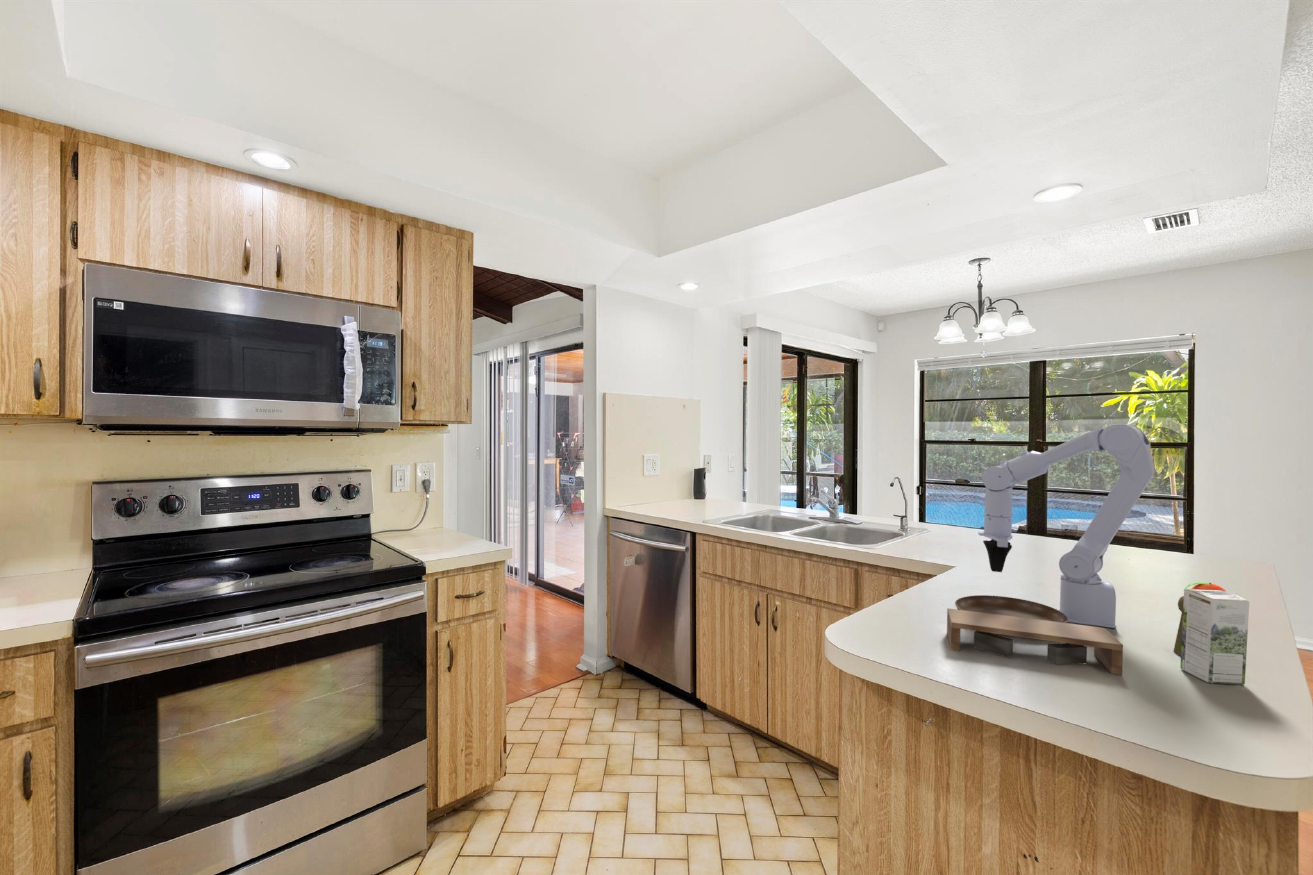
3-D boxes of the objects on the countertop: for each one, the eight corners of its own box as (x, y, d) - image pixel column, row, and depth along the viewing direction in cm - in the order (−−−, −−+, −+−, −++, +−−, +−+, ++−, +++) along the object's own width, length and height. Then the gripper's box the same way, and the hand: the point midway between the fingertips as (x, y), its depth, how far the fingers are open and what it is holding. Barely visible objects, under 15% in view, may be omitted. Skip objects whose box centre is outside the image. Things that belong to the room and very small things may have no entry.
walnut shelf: (1103, 655, 104) (1104, 627, 104) (1122, 675, 95) (1122, 644, 95) (946, 633, 114) (947, 608, 114) (951, 649, 106) (951, 622, 106)
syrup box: (1215, 671, 98) (1217, 588, 97) (1247, 686, 92) (1250, 598, 92) (1179, 669, 98) (1182, 587, 98) (1209, 684, 92) (1212, 597, 92)
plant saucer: (968, 635, 114) (968, 619, 114) (945, 604, 134) (945, 590, 134) (1086, 647, 109) (1087, 630, 108) (1043, 613, 128) (1044, 599, 128)
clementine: (1186, 613, 129) (1187, 583, 129) (1178, 605, 135) (1179, 576, 135) (1235, 620, 125) (1236, 588, 125) (1224, 611, 131) (1225, 581, 131)
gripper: (975, 510, 144) (973, 562, 144) (983, 518, 130) (981, 576, 131) (1007, 512, 141) (1005, 565, 141) (1019, 521, 128) (1017, 580, 128)
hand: (996, 571), depth 136 cm, fingers closed
